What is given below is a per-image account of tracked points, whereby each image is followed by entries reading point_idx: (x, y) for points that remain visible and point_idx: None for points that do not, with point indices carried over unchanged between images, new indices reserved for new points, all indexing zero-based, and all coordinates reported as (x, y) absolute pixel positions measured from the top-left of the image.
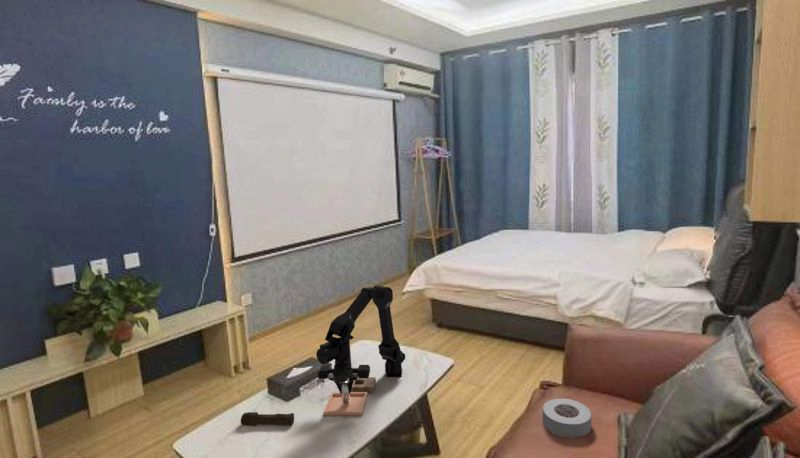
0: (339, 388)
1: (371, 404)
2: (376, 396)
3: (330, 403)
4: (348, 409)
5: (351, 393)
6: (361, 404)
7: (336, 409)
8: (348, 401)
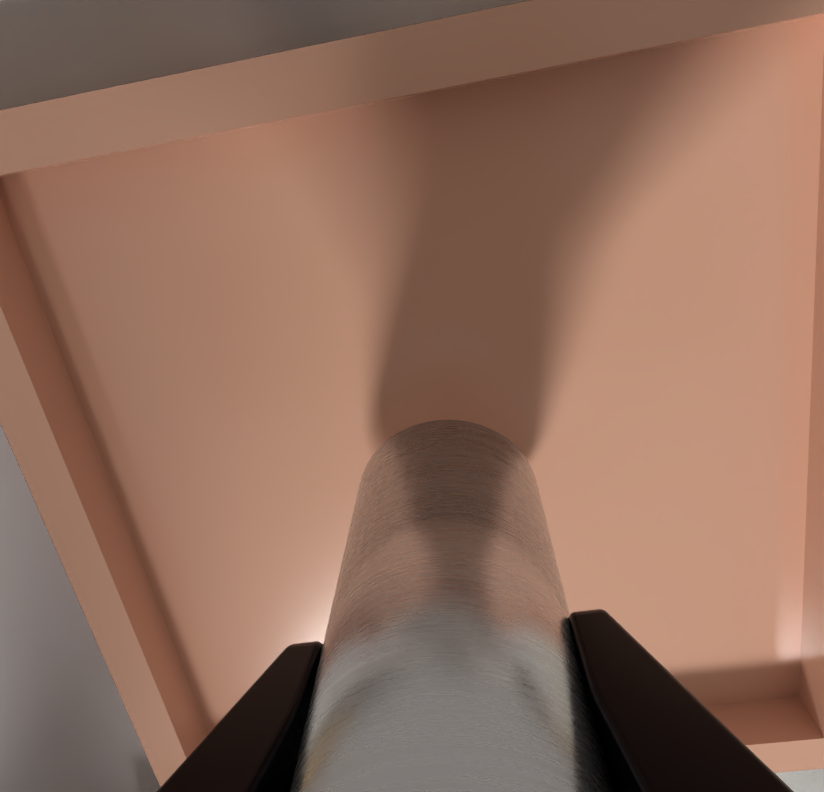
0: (675, 750)
1: (3, 549)
2: (51, 756)
3: (807, 458)
4: (326, 290)
5: None
6: (144, 502)
7: (607, 253)
8: (369, 477)
